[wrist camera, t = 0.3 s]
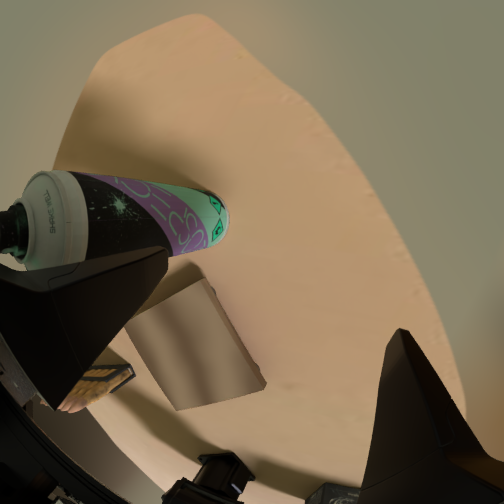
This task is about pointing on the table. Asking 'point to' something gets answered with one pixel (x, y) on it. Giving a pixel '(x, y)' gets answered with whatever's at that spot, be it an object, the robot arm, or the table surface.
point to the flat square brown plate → (194, 349)
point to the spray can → (106, 219)
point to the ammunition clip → (96, 385)
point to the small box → (334, 495)
